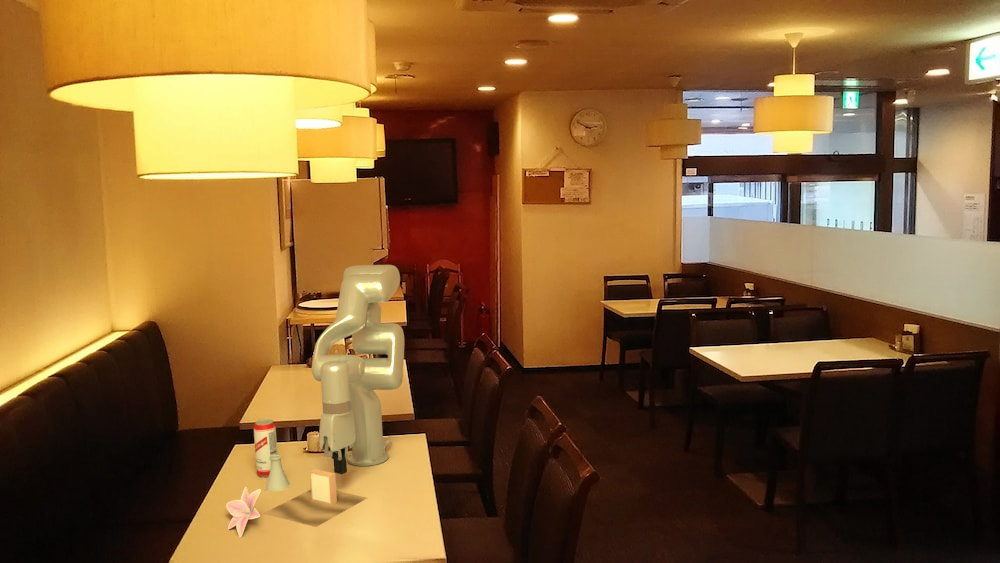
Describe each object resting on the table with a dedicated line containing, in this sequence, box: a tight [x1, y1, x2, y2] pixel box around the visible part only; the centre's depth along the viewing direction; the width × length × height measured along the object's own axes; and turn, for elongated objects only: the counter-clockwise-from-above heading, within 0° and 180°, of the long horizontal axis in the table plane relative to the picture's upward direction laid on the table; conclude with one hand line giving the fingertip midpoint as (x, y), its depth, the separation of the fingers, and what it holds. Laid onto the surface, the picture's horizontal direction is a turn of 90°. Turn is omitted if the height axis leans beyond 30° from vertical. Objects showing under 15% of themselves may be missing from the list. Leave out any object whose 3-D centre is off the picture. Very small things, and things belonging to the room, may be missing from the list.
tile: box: [309, 468, 337, 505], centre depth 217 cm, size 2×7×8 cm, turn 60°
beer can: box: [253, 418, 279, 478], centre depth 241 cm, size 6×6×16 cm
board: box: [263, 489, 368, 528], centre depth 215 cm, size 20×18×1 cm
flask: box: [264, 454, 291, 492], centre depth 228 cm, size 7×7×10 cm
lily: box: [225, 486, 262, 538], centre depth 206 cm, size 12×12×10 cm
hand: (340, 472), depth 223 cm, fingers closed
